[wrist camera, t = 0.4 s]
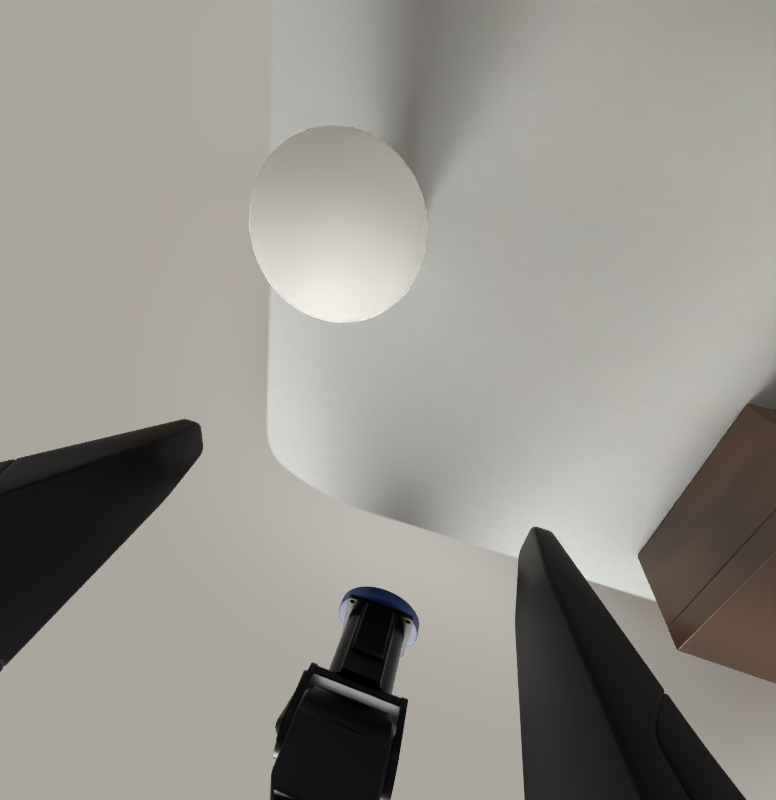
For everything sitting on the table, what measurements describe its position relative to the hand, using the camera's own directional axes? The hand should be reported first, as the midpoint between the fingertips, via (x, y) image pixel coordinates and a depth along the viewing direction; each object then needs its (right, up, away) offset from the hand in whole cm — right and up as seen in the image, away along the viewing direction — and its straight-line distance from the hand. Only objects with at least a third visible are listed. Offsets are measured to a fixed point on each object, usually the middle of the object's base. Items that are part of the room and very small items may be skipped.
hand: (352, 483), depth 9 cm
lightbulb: (+1, +11, +10) cm, 16 cm away
